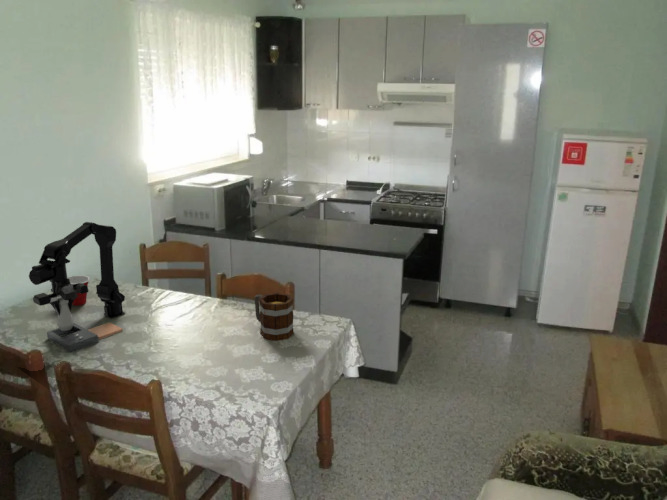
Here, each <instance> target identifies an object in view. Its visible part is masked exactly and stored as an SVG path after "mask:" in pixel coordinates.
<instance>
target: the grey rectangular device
mask: <svg viewBox="0 0 667 500" xmlns="http://www.w3.org/2000/svg"><path fill="white" fill-rule="evenodd" d="M46 339H47V340H48V341H50V342H52V343H53V344H55V345H57V346H58V347H60V348H62V349H63V350H66V351H67V352H68V353H72V352H76V351H79V350H81V349H83V348H84V349H85V348H86V347H89V346H92V345H95V344H98V343H99V339H98V335H96V334H94V333H92V332H91V331H89V330H88V329H86V328H85V327H83V326H81V325H78V324H77V323H76V322H74V324H73V327H72V329H71V330H67V331H61V329H60V328H59V327H58V328H55V329H51V330H48V331H46Z"/></svg>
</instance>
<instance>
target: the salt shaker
mask: <svg viewBox="0 0 667 500" xmlns="http://www.w3.org/2000/svg"><path fill="white" fill-rule="evenodd" d="M57 300H58V301H60V302H59V308H60V316H59V315H58V314H57V323H56V324H57V327H58V328H60V329H61V331H67V330H71V329H72V327H73V324H74V323H75V321H74V318H73V316H72V312H70V309H69V306H68V304H67V303H68V302H69V300H64V299H63V298H62V297H61V296H60V297H57Z"/></svg>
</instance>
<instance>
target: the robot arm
mask: <svg viewBox="0 0 667 500" xmlns="http://www.w3.org/2000/svg"><path fill="white" fill-rule="evenodd" d="M90 235H93V236H94V241H95V243H97V245H98V247H99V260H100V261H99V262H100V264H99V265H100V279H101V280H100V281H99V282H98V284H96V285H95V287H96V292H95V294H97V298H99V300H100V302H103V303H104V305H103V312H104V313H103V316H105V317H108V318H110V319H115V318H117V317H120V316H124V315H125V314H126V312H124V311H123V310H124V309H123V302H125V299H126V296H125V295H124V294H122V293H121V292H120V290H119V285H118V284H117V282H116V280H115V276H114V272H115V271H114V254H113V251H114V250H113V246H114V245H115V242H116V241H117V239H116V238H117V229H116V228H115V227H114V226H111V225H103V224H98V223H96V222H90V221H85V222H83V223H82V225H80V226H79V227H77V228H76V229H74V230H73V231H72V232H70V233H69V234H68V235H66V236H65V237H64V238H61V239H58V240H54V241H53V242H52V241H51V242H50V243H48V244H46V245H45V246H44V248H43V249H44V250H43V252H42V254H41V256H40V259H39V261H38V265H34V266H31V270H30V271H29V273H28V278H29V281H30V282H31V283H32V284H33V285H35V286H37V285H41V284H44V283H46V282H47V283H48V282H50V283H51V289H50V292H51V293H49V294H47V293H45V292H42V293H41V292H40V293H38V294H34V296H33V298H32V300H33V303H35V304H37V305H38V306H40V307H41V306H45V305H49V304H50V305H51V307H52V308H53V310H54V311H55V313H56V315H57V316H58V315H59V316H60V308H59V302H60V301H58V300H57V298H59V297H62V298H63V299H64V300H69V302H68V303H67V304H68V306H69V309H70V312H71V311H72V308H73V301H74V299H75V298H76V297H78V296H79V295H77V294H78V293H80V294H84V293H87V294H88V293H89V287H88V286H86V285H84V284H82V283H77V284H72V285H71V283H70V280H69V279H68V278H67V277H68V273H67V264H68V263H70V262H71V260H70V259H68V258H67V257H68V256H69V255H70V254H71V251H72V249H73V248H74V247H75V246H77V245H78V244H79V243H82V241H84V240H85V239H87V238H88V237H89V236H90ZM71 313H72V312H71Z"/></svg>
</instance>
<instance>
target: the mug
mask: <svg viewBox="0 0 667 500" xmlns="http://www.w3.org/2000/svg"><path fill="white" fill-rule="evenodd" d="M293 305H294V298H293V296H291V294H288V293H281V292H273V293H265V294H264V295H262V294H261V293H260V294H256V295H255V296H254V307H255V318H256V320H257V321H258V322H259V323H260V335H261V337H262V336H263V337H262V338H263V340H267V339H268V340H267V341H273V342H278V341H283V340H289V339H290V338H291V337H292V336H293V335H294V334H295V331H294V309H293V308H294V307H293Z"/></svg>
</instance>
